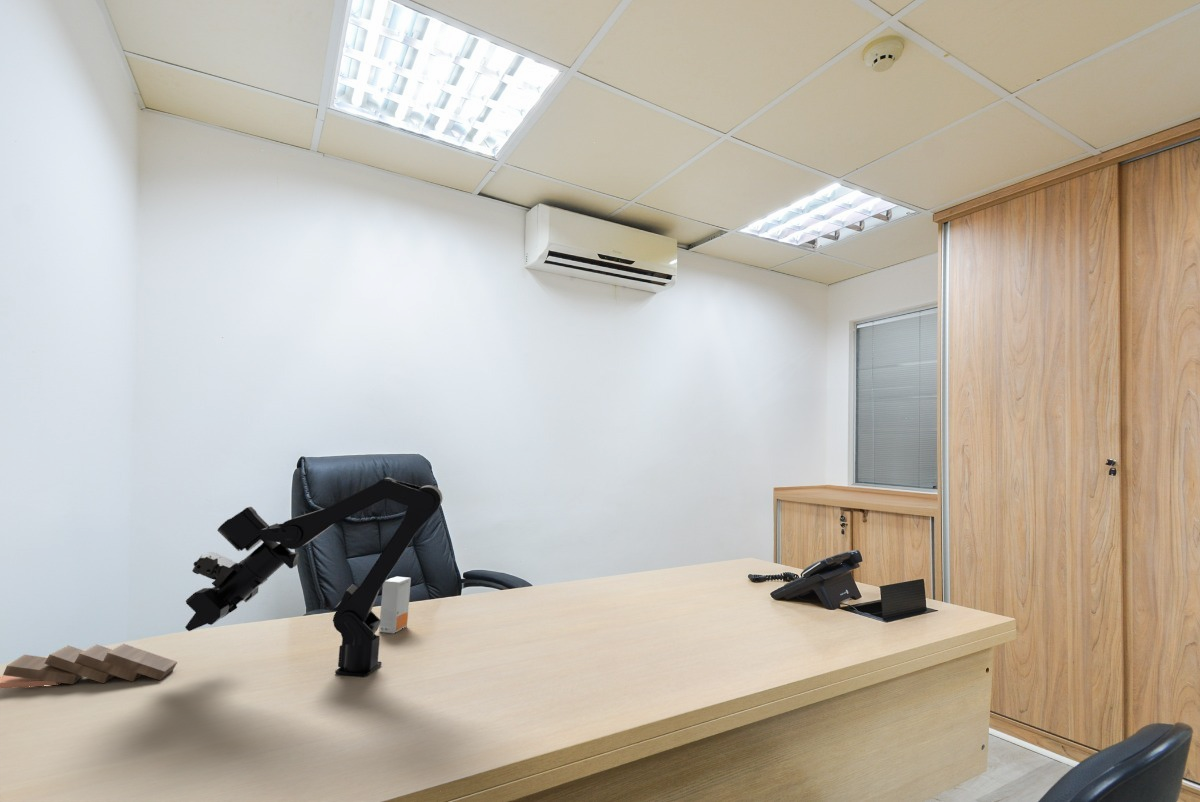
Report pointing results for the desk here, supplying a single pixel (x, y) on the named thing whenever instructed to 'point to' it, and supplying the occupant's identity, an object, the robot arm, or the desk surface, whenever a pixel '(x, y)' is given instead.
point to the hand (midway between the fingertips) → (187, 628)
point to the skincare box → (394, 604)
